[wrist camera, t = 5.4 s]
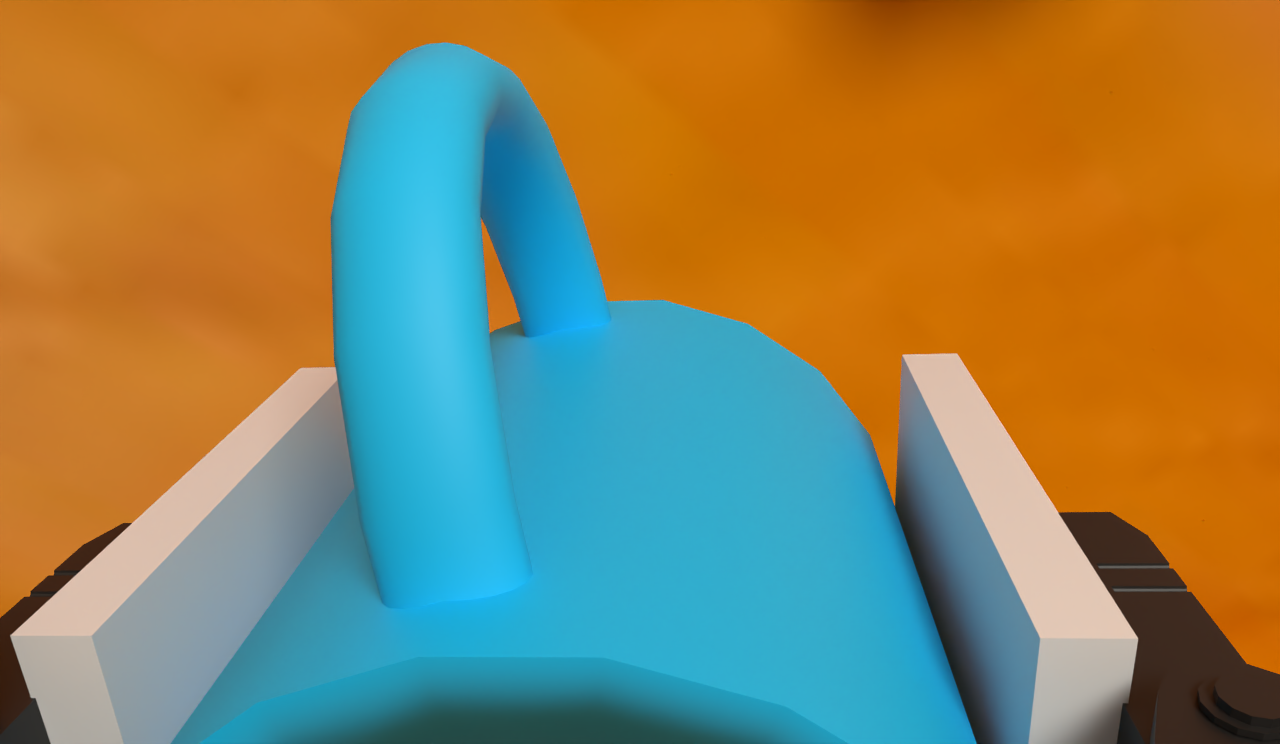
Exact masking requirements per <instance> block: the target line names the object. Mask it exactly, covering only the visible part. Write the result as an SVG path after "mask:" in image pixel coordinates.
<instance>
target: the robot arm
mask: <svg viewBox="0 0 1280 744" xmlns="http://www.w3.org/2000/svg"><path fill="white" fill-rule="evenodd" d="M353 489H354V482H353V476H352V470H351V463H350V457H349V450H348V444H347V438H346V431H345V425H344V419H343V412H342V406H341V399H340V393H339V387H338V380H337V374H336V367H325V368H300V369H299V370H298V371H297V372H296V373H295V374H294V375H293V376H292V377H290V378H289V379H288V380H287V381H286V382H285V383H284V384H283V385H282V386H281V387H280V388H279V389H277V390H276V391H275V392H274V393H273V394H272V395H271V396H270V397H269V398H268V399H267V400H265V401H264V402H263V403H262V404H261V405H260V406H259V407H258V408H257V409H256V410H255V411H254V412H252V413H251V414H250V415H249V416H248V417H247V418H246V419H245V420H244V421H243V422H242V423H241V424H239V425H238V426H237V427H236V428H235V429H234V430H233V431H232V432H231V433H230V434H229V435H228V436H226V437H225V438H224V439H223V440H222V441H221V442H220V443H219V444H218V445H217V446H216V447H214V448H213V449H212V450H211V451H210V452H209V453H208V454H207V455H206V456H205V457H204V458H203V459H201V460H200V461H199V462H198V463H197V464H196V465H195V466H194V467H193V468H192V469H191V470H190V471H188V472H187V473H186V474H185V475H184V476H183V477H182V478H181V479H180V480H179V481H178V482H177V483H175V484H174V485H173V486H172V487H171V488H170V489H169V490H168V491H167V492H166V493H165V494H163V495H162V496H161V497H160V498H159V499H158V500H157V501H156V502H155V503H154V504H153V505H152V506H150V507H149V508H148V509H147V510H146V511H145V512H144V513H143V514H142V515H141V516H140V517H139V518H137V519H136V520H135V521H134V522H133V523H123V524H121V525H119V526H117V527H115V528H114V529H112V530H110V531H108V532H106V533H104V534H103V535H101V536H99V537H97V538H95V539H93V540H92V541H90V542H88V543H86V544H84V545H83V546H81V547H80V548H79V549H78V550H77V551H76V552H75V553H73V554H72V555H71V556H70V557H69V558H68V559H67V560H66V561H64V562H63V563H62V564H61V565H60V566H59V567H58V568H57V569H55V570H54V576H47V577H46V578H45V579H44V580H43V581H42V582H41V583H40V584H38V585H37V586H36V587H35V588H34V589H33V590H32V591H31V595H30V597H24V598H23V599H21V600H20V601H19V602H18V603H17V604H16V605H15V606H14V607H12V608H11V609H10V610H9V611H8V612H7V613H6V614H5V615H3V616H2V617H1V618H0V744H170V743H171V742H172V741H173V739H174V738H175V737H176V735H177V734H178V732H179V731H180V730H181V728H182V727H183V725H184V724H185V723H186V721H187V720H188V718H189V717H190V716H191V714H192V713H193V711H194V710H195V709H196V707H197V706H198V704H199V703H200V702H201V700H202V699H203V698H204V696H205V695H206V693H207V692H208V691H209V689H210V688H211V686H212V685H213V684H214V682H215V681H216V679H217V678H218V677H219V675H220V674H221V672H222V671H223V670H224V668H225V667H226V665H227V664H228V663H229V661H230V660H231V659H232V657H233V656H234V654H235V653H236V652H237V650H238V649H239V647H240V646H241V645H242V643H243V642H244V640H245V639H246V638H247V636H248V635H249V633H250V632H251V631H252V629H253V628H254V626H255V625H256V624H257V622H258V621H259V620H260V618H261V617H262V615H263V614H264V613H265V611H266V610H267V608H268V607H269V606H270V604H271V603H272V601H273V600H274V599H275V597H276V596H277V594H278V593H279V592H280V590H281V589H282V587H283V586H284V585H285V583H286V582H287V581H288V579H289V578H290V576H291V575H292V574H293V572H294V571H295V569H296V568H297V567H298V565H299V564H300V562H301V561H302V560H303V558H304V557H305V555H306V554H307V553H308V551H309V550H310V549H311V547H312V546H313V544H314V543H315V542H316V540H317V539H318V537H319V536H320V535H321V533H322V532H323V530H324V529H325V528H326V526H327V525H328V523H329V522H330V521H331V519H332V518H333V516H334V515H335V514H336V512H337V511H338V510H339V508H340V507H341V505H342V504H343V503H344V501H345V500H346V498H347V497H348V496H349V494H350V493H351V491H352V490H353ZM895 509H896V512H897V515H898V518H899V521H900V523H901V526H902V529H903V532H904V535H905V538H906V541H907V544H908V547H909V549H910V552H911V555H912V558H913V561H914V564H915V567H916V570H917V573H918V575H919V578H920V581H921V584H922V587H923V590H924V593H925V596H926V599H927V601H928V604H929V607H930V610H931V613H932V616H933V619H934V622H935V625H936V627H937V630H938V633H939V636H940V639H941V642H942V645H943V648H944V651H945V653H946V656H947V659H948V662H949V665H950V668H951V671H952V674H953V677H954V679H955V682H956V685H957V688H958V691H959V694H960V697H961V700H962V703H963V705H964V708H965V711H966V714H967V717H968V720H969V723H970V726H971V729H972V731H973V734H974V737H975V740H976V743H977V744H1280V674H1276V673H1273V672H1270V671H1267V670H1264V669H1261V668H1258V667H1255V666H1252V665H1249V664H1246V662H1245V661H1244V660H1243V659H1242V657H1241V656H1240V655H1239V653H1238V652H1237V651H1236V649H1235V648H1234V647H1233V646H1232V644H1231V643H1230V642H1229V640H1228V639H1227V638H1226V636H1225V635H1224V634H1223V633H1222V631H1221V630H1220V629H1219V627H1218V626H1217V625H1216V624H1215V622H1214V621H1213V620H1212V618H1211V617H1210V616H1209V614H1208V613H1207V612H1206V611H1205V609H1204V608H1203V607H1202V605H1201V604H1200V603H1199V601H1198V600H1197V599H1196V598H1195V596H1194V595H1193V594H1192V592H1187V586H1186V585H1185V583H1184V582H1183V581H1182V579H1181V578H1180V577H1179V576H1178V574H1177V573H1176V572H1175V570H1174V569H1169V563H1168V561H1167V560H1166V559H1165V557H1164V556H1163V555H1162V554H1161V552H1160V551H1159V550H1158V548H1157V547H1156V546H1155V544H1154V543H1153V542H1152V541H1151V539H1150V538H1149V537H1148V535H1146V534H1144V533H1143V532H1141V531H1140V530H1138V529H1136V528H1135V527H1133V526H1132V525H1130V524H1128V523H1127V522H1125V521H1124V520H1122V519H1121V518H1119V517H1117V516H1116V515H1114V514H1113V513H1111V512H1065V513H1058V512H1057V510H1056V509H1055V507H1054V505H1053V504H1052V502H1051V501H1050V499H1049V498H1048V496H1047V494H1046V493H1045V491H1044V490H1043V488H1042V487H1041V485H1040V483H1039V482H1038V480H1037V479H1036V477H1035V476H1034V474H1033V472H1032V471H1031V469H1030V468H1029V466H1028V465H1027V463H1026V461H1025V460H1024V458H1023V457H1022V455H1021V453H1020V452H1019V450H1018V449H1017V447H1016V446H1015V444H1014V442H1013V441H1012V439H1011V438H1010V436H1009V435H1008V433H1007V431H1006V430H1005V428H1004V427H1003V425H1002V424H1001V422H1000V420H999V419H998V417H997V416H996V414H995V413H994V411H993V409H992V408H991V406H990V405H989V403H988V402H987V400H986V398H985V397H984V395H983V394H982V392H981V391H980V389H979V387H978V386H977V384H976V383H975V381H974V380H973V378H972V376H971V375H970V373H969V372H968V370H967V369H966V367H965V365H964V364H963V362H962V361H961V359H960V358H959V356H958V354H913V355H902V370H901V391H900V413H899V434H898V456H897V477H896V499H895Z"/></svg>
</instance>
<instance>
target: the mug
mask: <svg viewBox="0 0 1280 744" xmlns="http://www.w3.org/2000/svg"><path fill="white" fill-rule="evenodd" d="M481 218H482V220H483V222H484V224H485V226H486V228H487V231H488V233H489V236H490V238H491V241H492V243H493V246H494V249H495V251H496V254H497V256H498V259H499V261H500V264H501V266H502V269H503V272H504V274H505V277H506V279H507V282H508V284H509V287H510V289H511V292H512V295H513V297H514V300H515V303H516V307H517V310H518V313H519V317H520V320H521V321H520V322H517V323H514V324H511V325H508V326H505V327H503V328H500V329H497V330H494V331H493V332H492V333H489V320H488V307H487V293H486V280H485V267H484V254H483V241H482V227H481ZM331 253H332V295H333V337H334V361H335V367H336V374H337V380H338V387H339V393H340V399H341V406H342V412H343V419H344V425H345V431H346V438H347V444H348V450H349V457H350V463H351V470H352V476H353V482H354V489H353V490H352V491H351V493H350V494H349V496H348V497H347V498H346V500H345V501H344V503H343V504H342V505H341V507H340V508H339V510H338V511H337V512H336V514H335V515H334V516H333V518H332V519H331V521H330V522H329V523H328V525H327V526H326V528H325V529H324V530H323V532H322V533H321V535H320V536H319V537H318V539H317V540H316V542H315V543H314V544H313V546H312V547H311V549H310V550H309V551H308V553H307V554H306V555H305V557H304V558H303V560H302V561H301V562H300V564H299V565H298V567H297V568H296V569H295V571H294V572H293V574H292V575H291V576H290V578H289V579H288V581H287V582H286V583H285V585H284V586H283V587H282V589H281V590H280V592H279V593H278V594H277V596H276V597H275V599H274V600H273V601H272V603H271V604H270V606H269V607H268V608H267V610H266V611H265V613H264V614H263V615H262V617H261V618H260V620H259V621H258V622H257V624H256V625H255V626H254V628H253V629H252V631H251V632H250V633H249V635H248V636H247V638H246V639H245V640H244V642H243V643H242V645H241V646H240V647H239V649H238V650H237V652H236V653H235V654H234V656H233V657H232V659H231V660H230V661H229V663H228V664H227V665H226V667H225V668H224V670H223V671H222V672H221V674H220V675H219V677H218V678H217V679H216V681H215V682H214V684H213V685H212V686H211V688H210V689H209V691H208V692H207V693H206V695H205V696H204V698H203V699H202V700H201V702H200V703H199V704H198V706H197V707H196V709H195V710H194V711H193V713H192V714H191V716H190V717H189V718H188V720H187V721H186V723H185V724H184V725H183V727H182V728H181V730H180V731H179V732H178V734H177V735H176V737H175V738H174V739H173V741H172V742H171V743H170V744H977V743H976V740H975V737H974V734H973V731H972V729H971V726H970V723H969V720H968V717H967V714H966V711H965V708H964V705H963V703H962V700H961V697H960V694H959V691H958V688H957V685H956V682H955V679H954V677H953V674H952V671H951V668H950V665H949V662H948V659H947V656H946V653H945V651H944V648H943V645H942V642H941V639H940V636H939V633H938V630H937V627H936V625H935V622H934V619H933V616H932V613H931V610H930V607H929V604H928V601H927V599H926V596H925V593H924V590H923V587H922V584H921V581H920V578H919V575H918V573H917V570H916V567H915V564H914V561H913V558H912V555H911V552H910V549H909V547H908V544H907V541H906V538H905V535H904V532H903V529H902V526H901V523H900V521H899V518H898V515H897V512H896V509H895V506H894V503H893V500H892V497H891V495H890V492H889V489H888V486H887V483H886V480H885V477H884V474H883V471H882V469H881V466H880V463H879V460H878V457H877V454H876V451H875V448H874V445H873V443H872V440H871V437H870V434H869V433H868V432H867V431H866V429H865V428H864V427H863V426H862V424H861V423H860V422H859V420H858V419H857V418H856V417H855V415H854V414H853V413H852V412H851V410H850V409H849V408H848V406H847V405H846V404H845V403H844V401H843V400H842V399H841V397H840V396H839V395H838V394H837V392H836V391H835V390H834V389H833V387H832V386H831V385H830V383H829V382H828V381H827V380H826V378H825V377H824V376H823V375H822V373H821V372H820V371H819V370H817V369H816V368H814V367H813V366H811V365H810V364H808V363H807V362H805V361H804V360H802V359H801V358H799V357H798V356H796V355H794V354H793V353H791V352H790V351H788V350H787V349H785V348H784V347H782V346H781V345H779V344H778V343H776V342H775V341H773V340H772V339H770V338H769V337H767V336H766V335H764V334H762V333H761V332H759V331H758V330H756V329H755V328H753V327H752V326H750V325H749V324H746V323H743V322H739V321H735V320H732V319H728V318H725V317H721V316H718V315H714V314H711V313H707V312H703V311H700V310H696V309H693V308H689V307H686V306H682V305H679V304H675V303H671V302H668V301H664V300H645V301H608V302H607V299H606V295H605V291H604V287H603V283H602V279H601V276H600V272H599V269H598V266H597V263H596V260H595V256H594V253H593V250H592V247H591V243H590V240H589V237H588V234H587V231H586V227H585V224H584V221H583V218H582V214H581V211H580V208H579V205H578V201H577V199H576V196H575V193H574V191H573V188H572V186H571V183H570V181H569V178H568V176H567V173H566V171H565V168H564V166H563V163H562V161H561V158H560V156H559V153H558V151H557V148H556V146H555V143H554V141H553V138H552V136H551V133H550V131H549V128H548V126H547V124H546V122H545V121H544V119H543V117H542V116H541V114H540V112H539V111H538V109H537V107H536V106H535V104H534V102H533V101H532V99H531V97H530V96H529V94H528V92H527V91H526V89H525V87H524V85H523V84H522V82H521V80H520V79H519V78H518V77H517V76H516V75H515V74H514V73H513V72H512V71H511V70H510V69H509V68H507V67H505V66H503V65H501V64H500V63H498V62H496V61H494V60H492V59H490V58H488V57H486V56H484V55H483V54H481V53H479V52H476V51H474V50H472V49H470V48H468V47H466V46H463V45H457V44H451V43H436V44H426V45H423V46H421V47H418V48H415V49H412V50H410V51H407V52H406V53H405V54H403V55H402V56H401V57H399V58H398V59H396V60H395V61H394V62H393V63H392V64H391V65H390V66H389V67H388V68H387V69H386V71H385V72H384V73H383V74H382V75H381V76H380V77H379V79H378V80H377V81H376V82H375V83H374V84H373V85H372V86H371V88H370V89H369V90H368V91H367V92H366V93H365V94H364V96H363V97H362V98H361V99H360V101H359V102H358V104H357V105H356V106H355V108H354V109H353V110H352V112H351V116H350V120H349V124H348V129H347V134H346V139H345V145H344V150H343V155H342V161H341V166H340V171H339V177H338V182H337V187H336V193H335V198H334V203H333V209H332V214H331Z"/></svg>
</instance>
